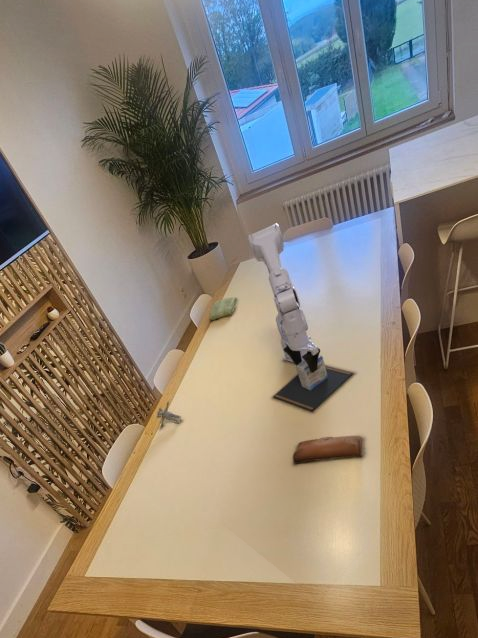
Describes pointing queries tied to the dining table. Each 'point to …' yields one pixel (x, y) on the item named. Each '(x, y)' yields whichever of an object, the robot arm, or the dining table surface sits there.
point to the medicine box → (311, 374)
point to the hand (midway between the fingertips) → (306, 367)
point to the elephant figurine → (167, 415)
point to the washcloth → (223, 308)
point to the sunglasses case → (328, 448)
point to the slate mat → (313, 397)
